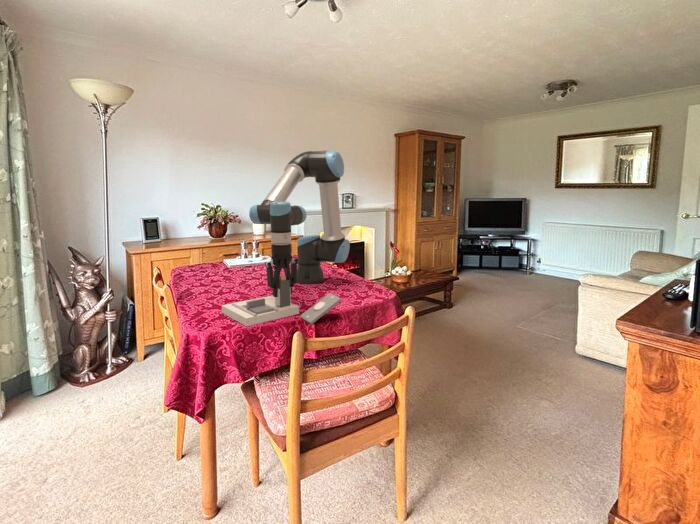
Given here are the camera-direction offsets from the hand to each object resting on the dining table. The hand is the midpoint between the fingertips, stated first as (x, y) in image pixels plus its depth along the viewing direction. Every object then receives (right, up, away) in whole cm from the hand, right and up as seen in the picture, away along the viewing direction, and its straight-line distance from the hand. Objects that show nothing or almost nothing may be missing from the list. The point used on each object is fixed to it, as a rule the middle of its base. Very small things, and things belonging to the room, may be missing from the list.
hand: (282, 303), depth 155 cm
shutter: (-7, -2, -7) cm, 10 cm away
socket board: (-9, -4, 0) cm, 9 cm away
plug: (0, -1, 0) cm, 1 cm away
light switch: (+15, -5, -5) cm, 17 cm away
